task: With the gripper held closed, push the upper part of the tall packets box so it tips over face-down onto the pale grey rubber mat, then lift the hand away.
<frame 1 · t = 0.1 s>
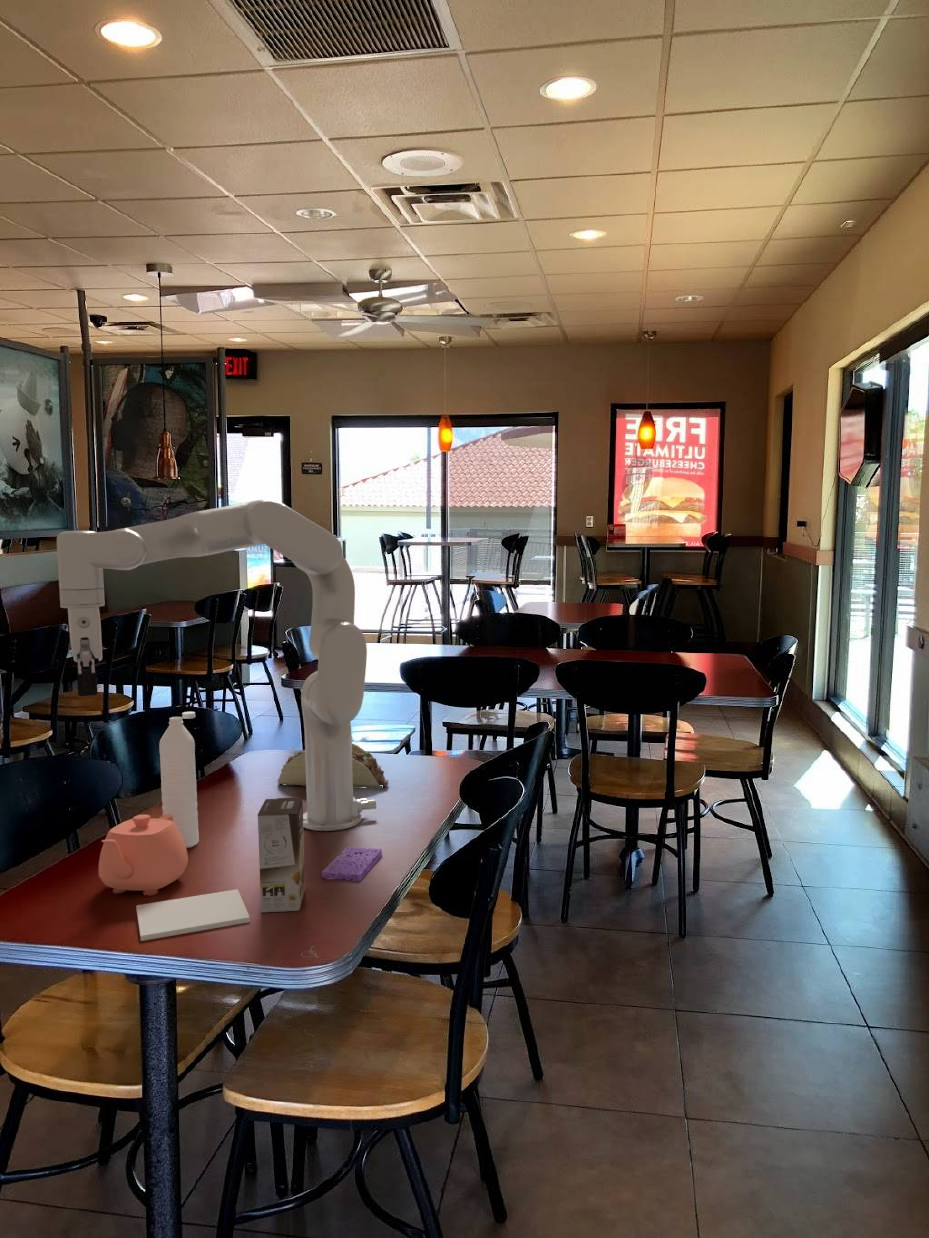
hand: (87, 690, 170), 31 cm above the table, tool pointing down, fingers open, 9 cm apart
sponges: (353, 870, 166), on the table
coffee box: (283, 901, 151), on the table
water bottle: (185, 843, 180), on the table
taco: (332, 787, 217), on the table
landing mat: (192, 915, 145), on the table
teapot: (142, 887, 158), on the table
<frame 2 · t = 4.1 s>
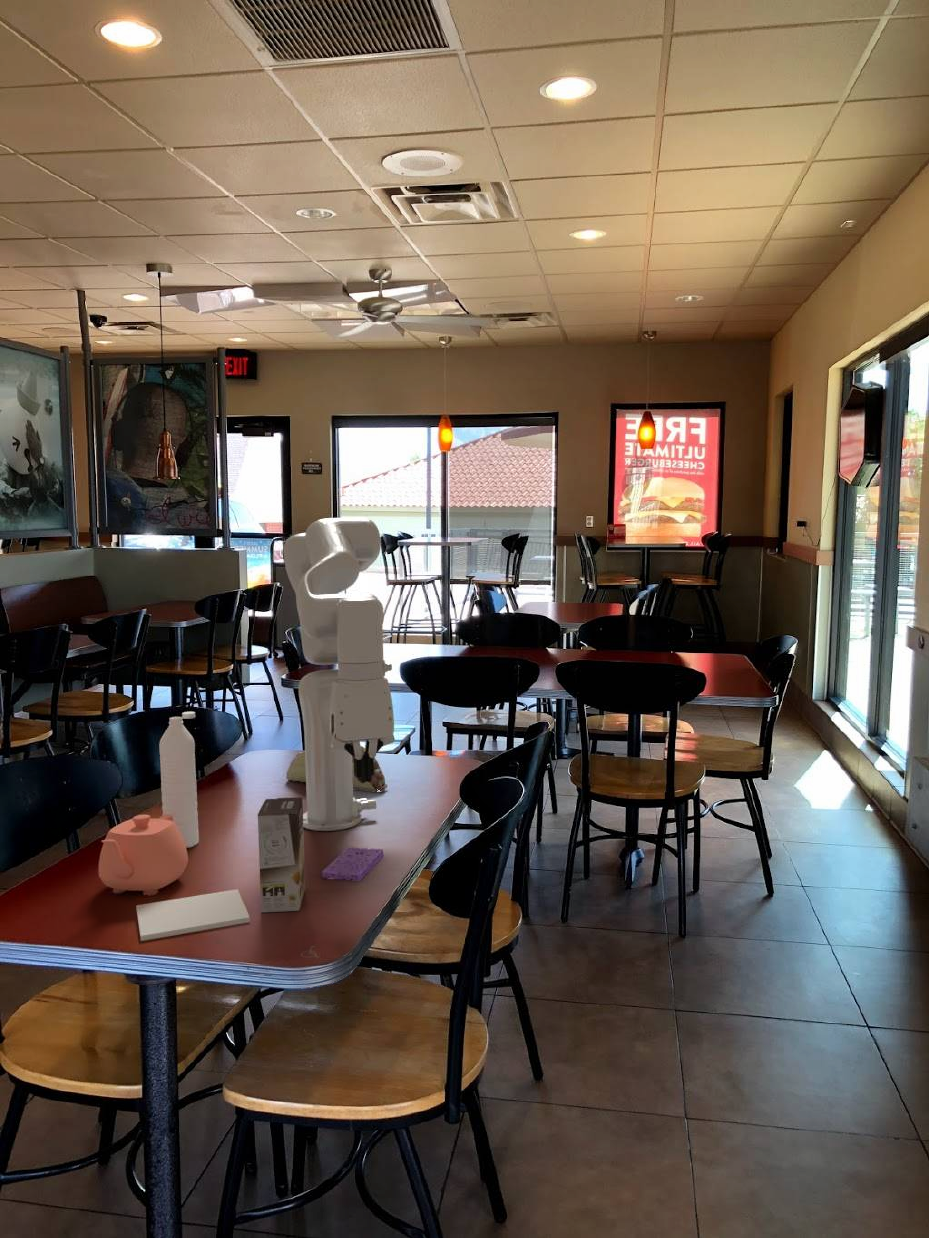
hand: (364, 780, 154), 19 cm above the table, tool pointing down, fingers closed
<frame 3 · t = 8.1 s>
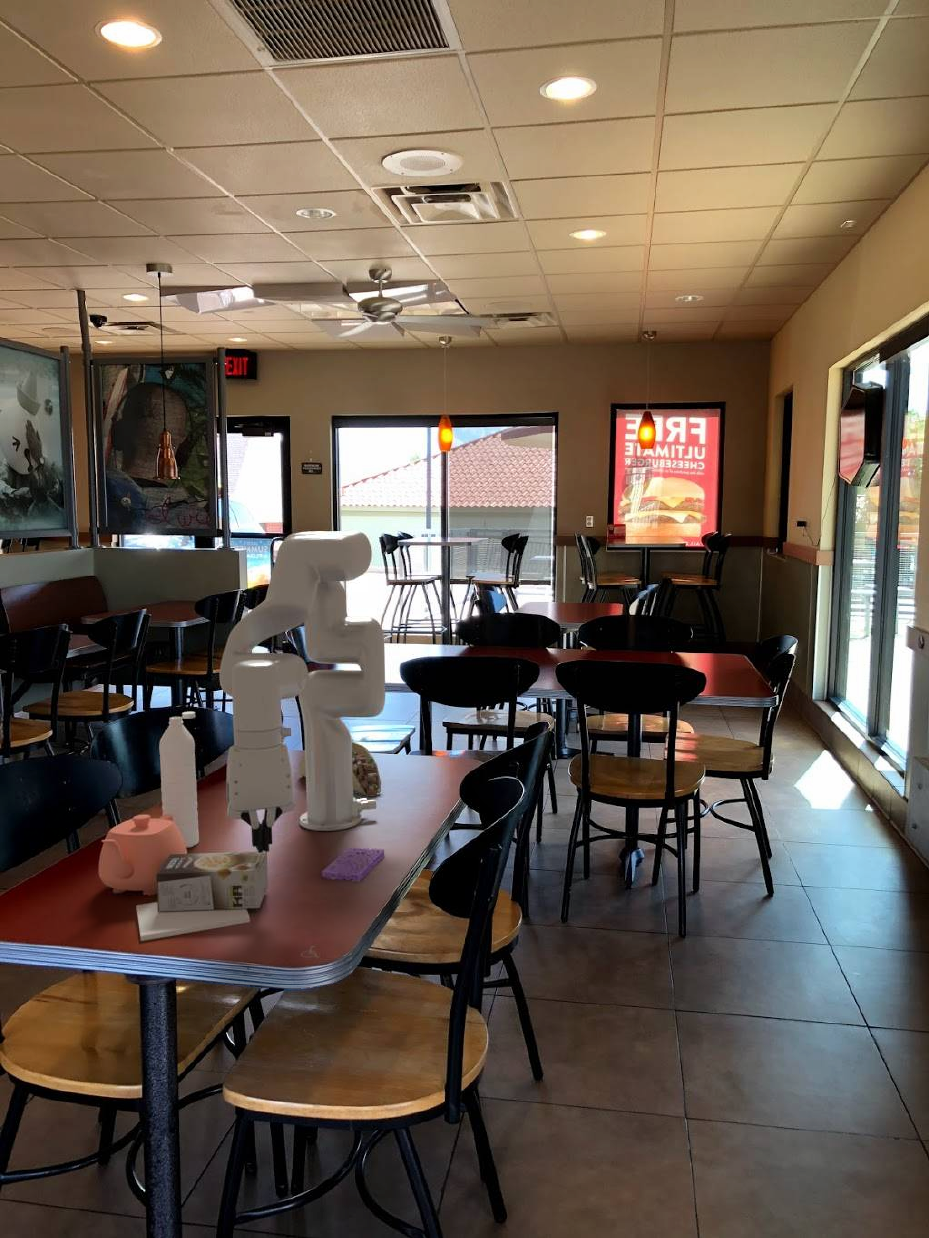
hand: (262, 849, 149), 9 cm above the table, tool pointing down, fingers closed
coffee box: (265, 878, 150), point 4 cm above the table, touching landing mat
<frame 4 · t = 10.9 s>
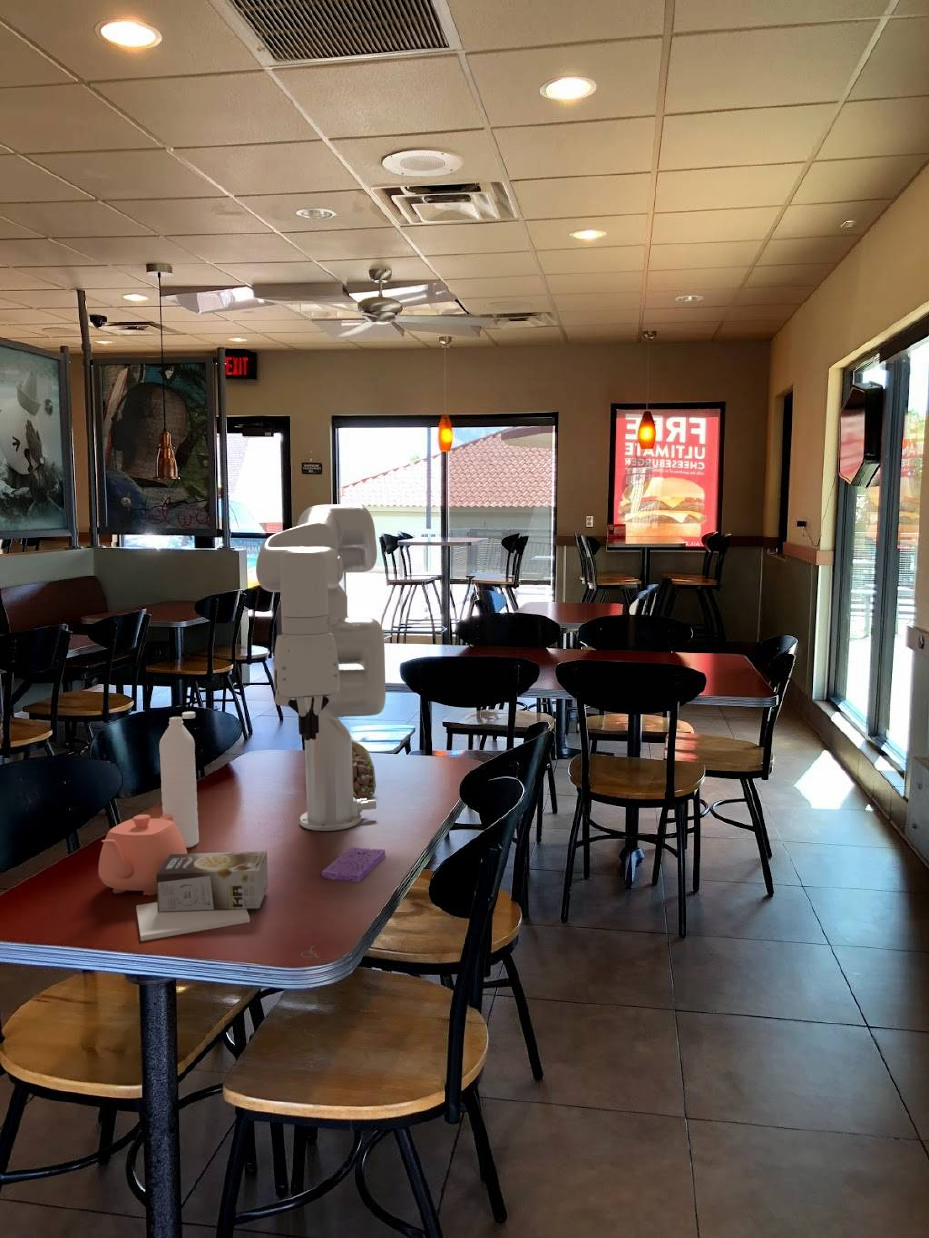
hand: (309, 737, 150), 27 cm above the table, tool pointing down, fingers closed
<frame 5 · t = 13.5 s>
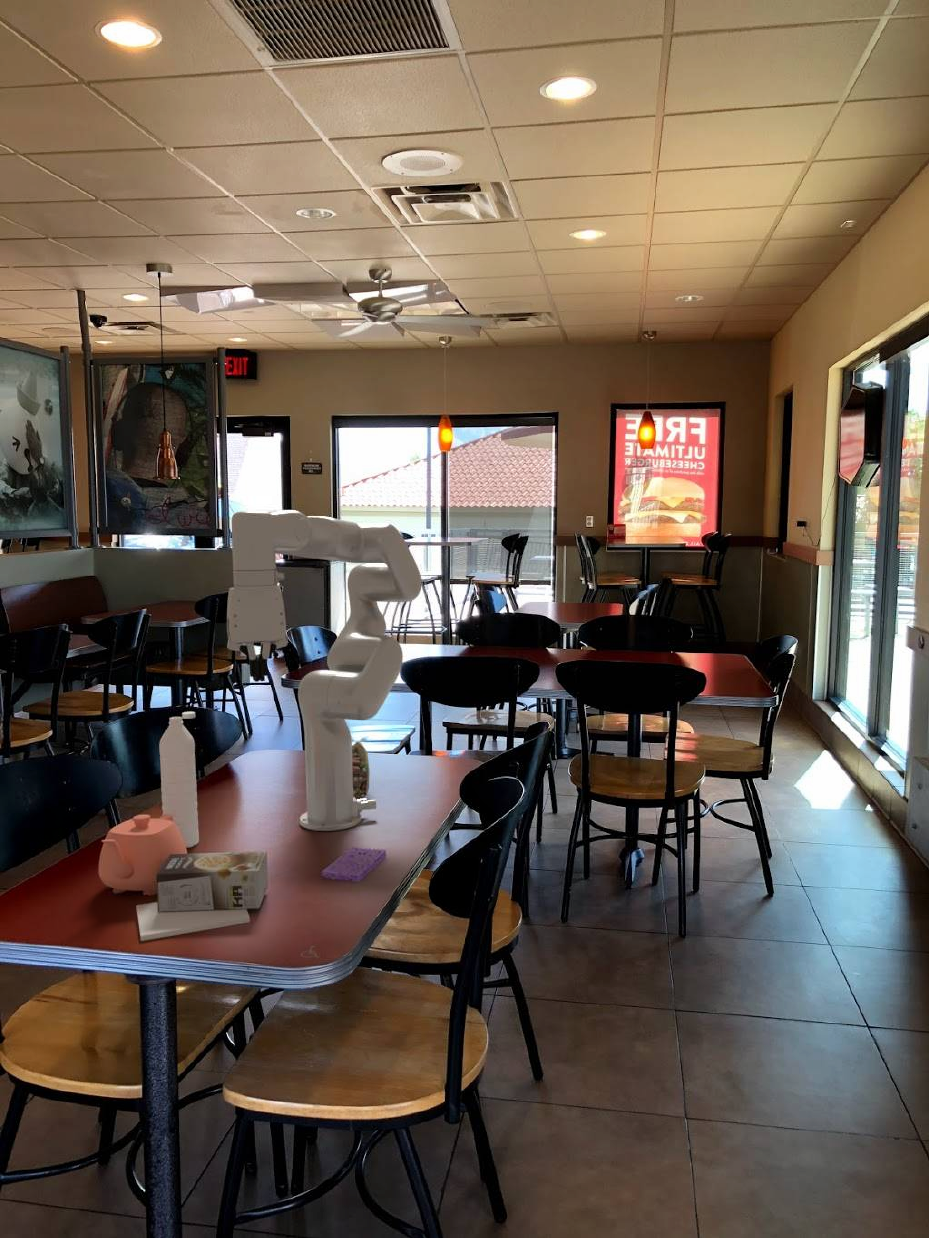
hand: (258, 680, 168), 33 cm above the table, tool pointing down, fingers closed
at the end: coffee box tilted 90°; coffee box touching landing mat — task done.
